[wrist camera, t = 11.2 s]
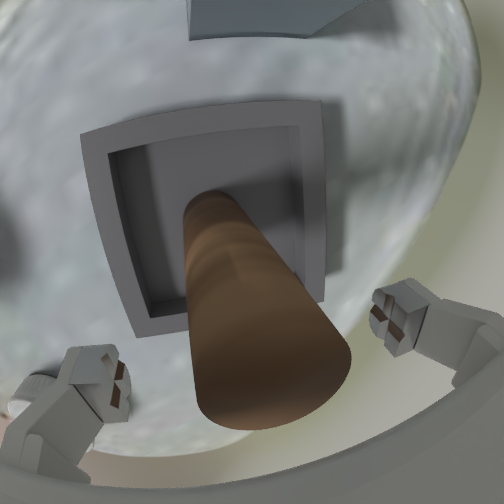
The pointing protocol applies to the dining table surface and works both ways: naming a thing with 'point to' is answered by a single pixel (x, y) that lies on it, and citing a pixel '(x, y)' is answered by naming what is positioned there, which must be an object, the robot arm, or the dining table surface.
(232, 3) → the grey square bin
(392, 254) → the dining table surface
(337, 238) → the dining table surface
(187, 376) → the dining table surface
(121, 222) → the tray
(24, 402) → the ramekin
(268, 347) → the walnut dowel
